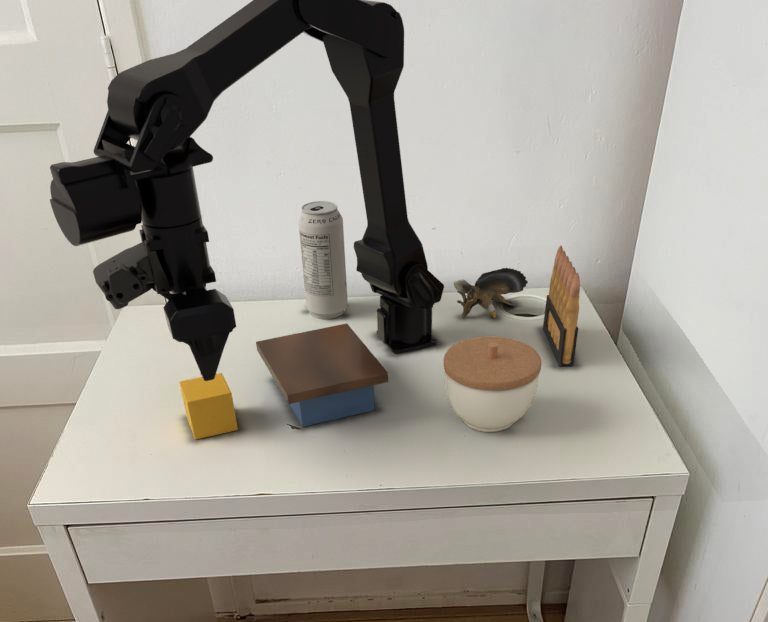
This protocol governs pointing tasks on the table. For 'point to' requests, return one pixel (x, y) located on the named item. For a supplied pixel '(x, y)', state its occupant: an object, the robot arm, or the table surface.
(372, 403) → the blue box
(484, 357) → the trinket box
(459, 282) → the brown legged piece
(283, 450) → the table surface
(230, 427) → the yellow block
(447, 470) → the table surface
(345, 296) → the energy drink can
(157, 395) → the table surface
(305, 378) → the board
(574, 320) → the ammunition clip
